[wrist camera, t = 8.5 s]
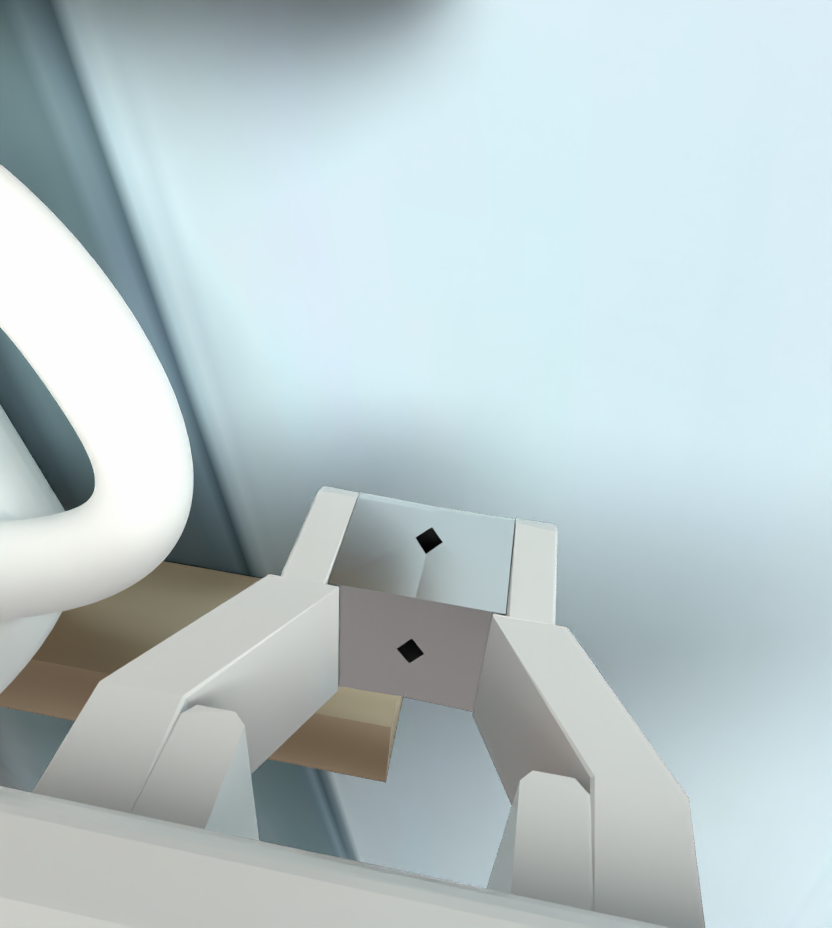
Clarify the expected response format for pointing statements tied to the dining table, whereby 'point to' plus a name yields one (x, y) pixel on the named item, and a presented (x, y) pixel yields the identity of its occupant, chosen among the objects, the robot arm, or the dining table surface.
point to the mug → (80, 434)
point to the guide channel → (160, 616)
